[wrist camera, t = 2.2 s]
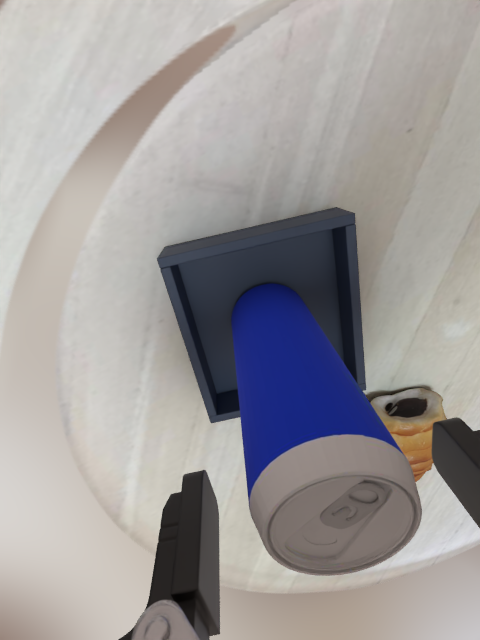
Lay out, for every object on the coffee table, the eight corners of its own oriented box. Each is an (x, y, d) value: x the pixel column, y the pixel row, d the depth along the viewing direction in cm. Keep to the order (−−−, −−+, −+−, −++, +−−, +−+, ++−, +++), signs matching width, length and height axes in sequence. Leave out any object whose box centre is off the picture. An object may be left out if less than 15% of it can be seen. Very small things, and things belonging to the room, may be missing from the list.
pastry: (427, 462, 31) (453, 499, 27) (355, 474, 31) (372, 513, 28) (434, 380, 27) (466, 411, 23) (352, 394, 27) (371, 428, 24)
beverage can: (278, 359, 25) (355, 596, 11) (217, 329, 23) (218, 557, 10) (319, 302, 23) (470, 500, 9) (255, 266, 21) (324, 435, 8)
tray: (164, 247, 21) (156, 258, 18) (336, 206, 21) (355, 212, 18) (211, 397, 26) (210, 423, 23) (350, 367, 26) (366, 390, 23)
